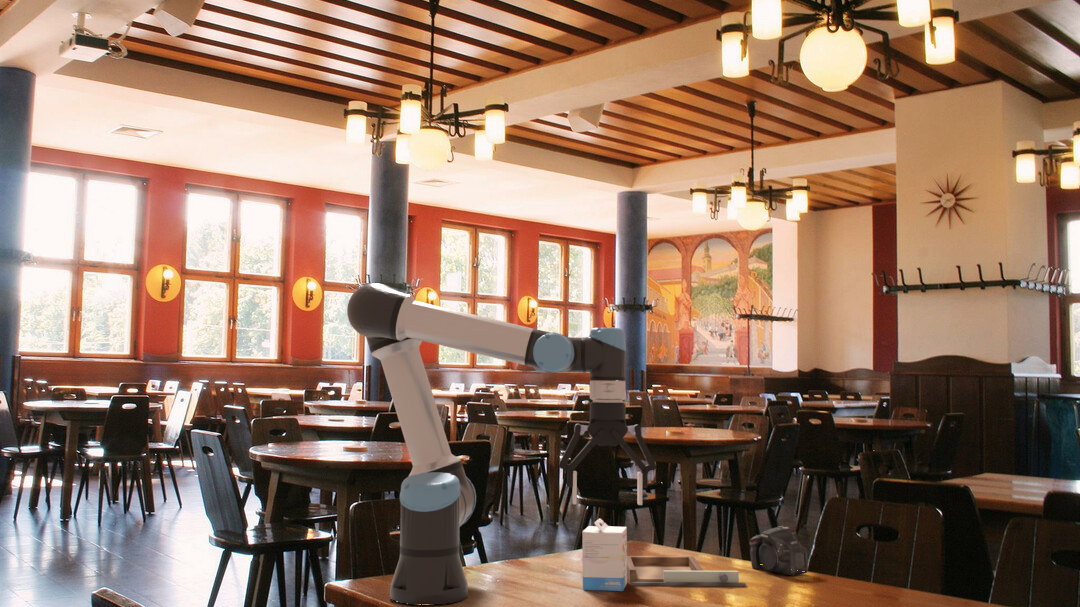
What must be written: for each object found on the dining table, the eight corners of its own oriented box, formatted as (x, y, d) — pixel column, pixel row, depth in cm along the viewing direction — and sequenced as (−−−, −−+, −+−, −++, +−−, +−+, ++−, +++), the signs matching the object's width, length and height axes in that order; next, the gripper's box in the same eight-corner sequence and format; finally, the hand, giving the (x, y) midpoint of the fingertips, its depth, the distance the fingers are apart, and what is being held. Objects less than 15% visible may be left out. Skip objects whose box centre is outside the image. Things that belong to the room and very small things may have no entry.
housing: (630, 585, 184) (630, 572, 185) (625, 567, 202) (624, 555, 202) (746, 586, 184) (745, 573, 184) (730, 568, 201) (729, 556, 201)
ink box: (623, 592, 179) (622, 524, 180) (582, 590, 180) (581, 522, 182) (627, 582, 187) (627, 517, 188) (588, 580, 189) (588, 516, 190)
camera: (740, 571, 199) (739, 525, 199) (762, 564, 206) (761, 520, 207) (795, 580, 190) (794, 532, 190) (816, 572, 197) (815, 526, 198)
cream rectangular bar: (664, 585, 184) (664, 572, 184) (663, 583, 186) (663, 570, 186) (739, 585, 183) (739, 573, 184) (737, 583, 186) (737, 570, 186)
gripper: (548, 401, 184) (547, 505, 182) (669, 402, 183) (669, 507, 182) (548, 400, 191) (547, 500, 189) (664, 401, 191) (664, 501, 189)
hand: (607, 504), depth 185 cm, fingers open, 13 cm apart
